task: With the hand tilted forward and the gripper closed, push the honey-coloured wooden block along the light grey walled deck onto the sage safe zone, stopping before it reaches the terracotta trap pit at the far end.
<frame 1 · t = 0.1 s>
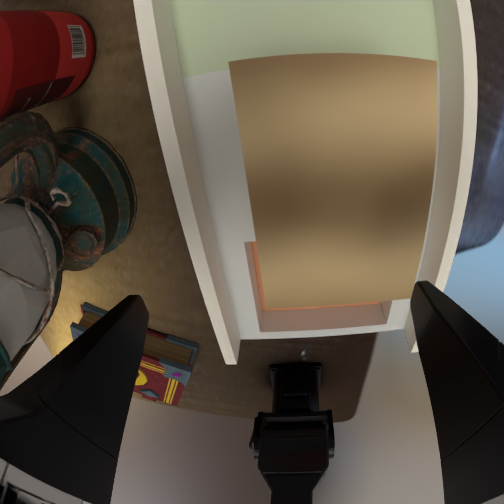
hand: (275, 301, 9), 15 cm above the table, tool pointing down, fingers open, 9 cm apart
wooden block: (325, 152, 18), point 3 cm above the table, touching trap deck
lantern: (72, 190, 24), on the table
decorative book: (134, 343, 37), on the table
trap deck: (316, 103, 19), on the table
canned food: (62, 54, 17), on the table
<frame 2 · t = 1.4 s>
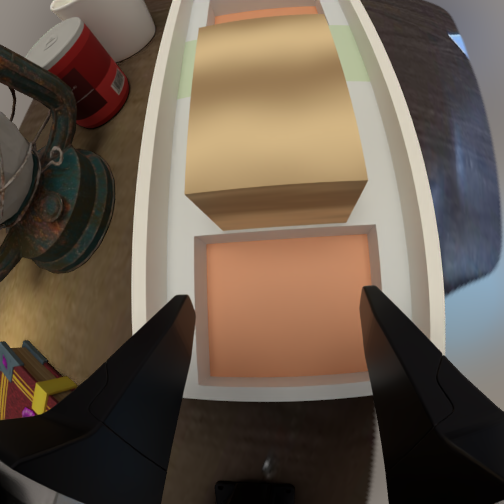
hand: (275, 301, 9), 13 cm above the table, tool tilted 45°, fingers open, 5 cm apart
wooden block: (278, 144, 20), point 3 cm above the table, touching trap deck
lantern: (63, 208, 27), on the table
decorative book: (60, 417, 23), on the table
candle holder: (128, 42, 30), on the table
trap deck: (278, 133, 24), on the table
canned food: (103, 102, 28), on the table
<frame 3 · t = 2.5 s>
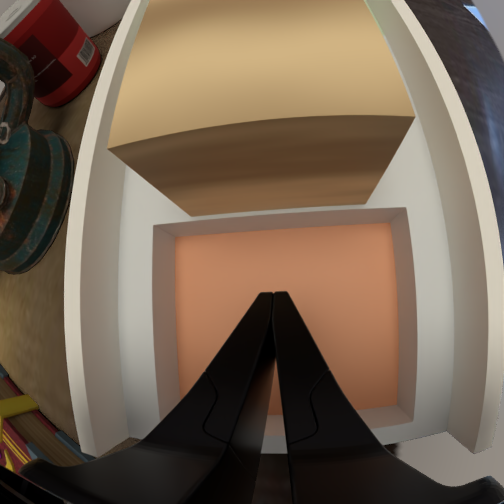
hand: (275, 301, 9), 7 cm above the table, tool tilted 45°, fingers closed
wooden block: (269, 102, 14), point 3 cm above the table, touching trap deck
lantern: (22, 198, 21), on the table
decorative book: (26, 438, 17), on the table
candle holder: (106, 17, 24), on the table
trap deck: (271, 96, 18), on the table
canned food: (73, 78, 22), on the table
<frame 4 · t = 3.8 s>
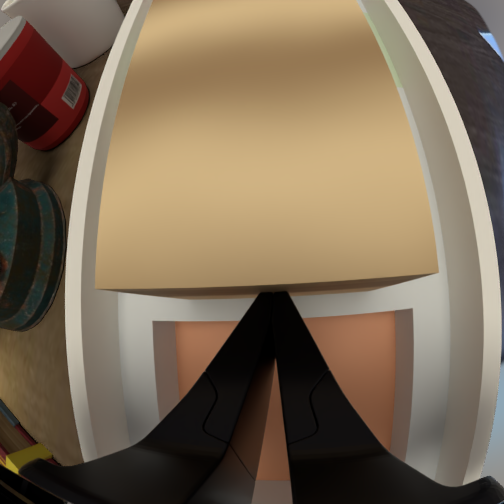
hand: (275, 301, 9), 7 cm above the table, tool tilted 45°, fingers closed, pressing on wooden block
wooden block: (271, 168, 14), point 3 cm above the table, touching gripper, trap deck
lantern: (15, 251, 20), on the table
decorative book: (40, 478, 16), on the table
candle holder: (95, 42, 24), on the table
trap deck: (274, 159, 17), on the table
canned food: (61, 117, 22), on the table
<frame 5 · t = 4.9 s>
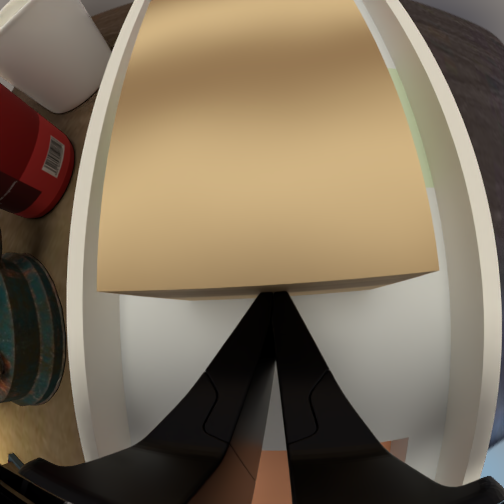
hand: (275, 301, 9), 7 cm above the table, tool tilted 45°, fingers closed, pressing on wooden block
wooden block: (270, 168, 14), point 3 cm above the table, touching gripper
lantern: (14, 324, 19), on the table
candle holder: (80, 81, 23), on the table
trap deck: (282, 266, 16), on the table
canned food: (46, 177, 21), on the table
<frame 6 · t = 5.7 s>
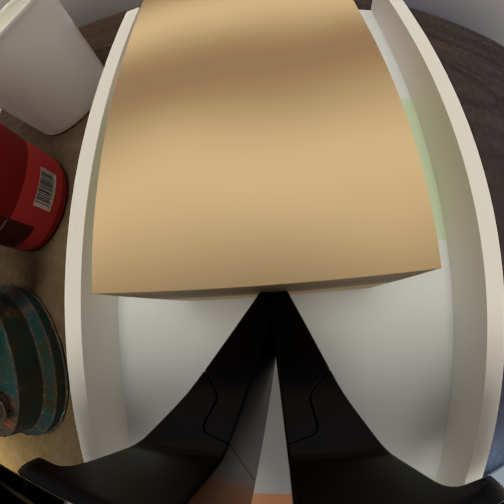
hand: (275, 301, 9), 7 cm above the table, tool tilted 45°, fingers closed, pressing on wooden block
wooden block: (268, 166, 14), point 3 cm above the table, touching gripper
lantern: (15, 355, 18), on the table
candle holder: (72, 99, 22), on the table
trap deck: (285, 317, 16), on the table
canned food: (40, 205, 20), on the table
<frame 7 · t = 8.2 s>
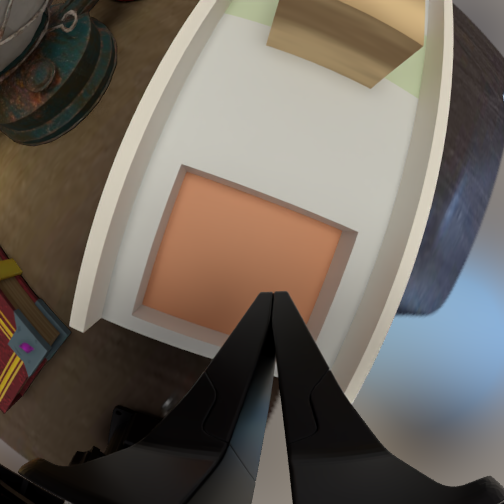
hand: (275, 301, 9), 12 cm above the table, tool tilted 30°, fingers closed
wooden block: (336, 14, 17), point 3 cm above the table, touching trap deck
lantern: (49, 74, 19), on the table
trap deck: (306, 94, 21), on the table
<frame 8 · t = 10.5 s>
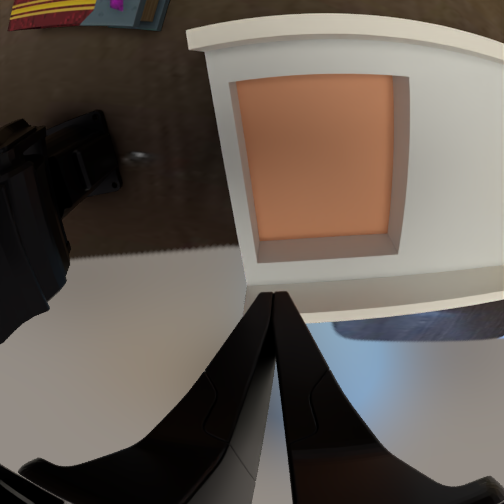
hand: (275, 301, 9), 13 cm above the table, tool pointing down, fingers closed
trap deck: (489, 162, 17), on the table
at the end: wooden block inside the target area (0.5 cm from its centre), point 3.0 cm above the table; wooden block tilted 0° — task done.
